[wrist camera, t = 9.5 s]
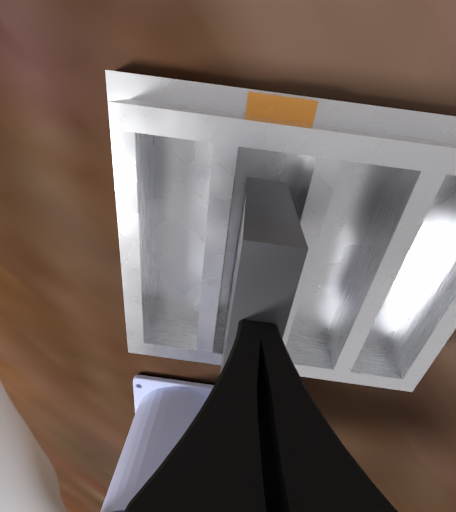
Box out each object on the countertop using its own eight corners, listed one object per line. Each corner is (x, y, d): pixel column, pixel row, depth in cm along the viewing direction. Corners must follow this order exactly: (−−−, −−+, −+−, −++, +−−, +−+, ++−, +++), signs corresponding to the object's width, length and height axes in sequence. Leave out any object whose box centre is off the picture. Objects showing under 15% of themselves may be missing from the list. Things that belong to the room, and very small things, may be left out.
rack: (399, 360, 22) (422, 404, 19) (131, 322, 22) (112, 360, 19) (538, 127, 14) (618, 139, 11) (114, 70, 14) (75, 67, 11)
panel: (257, 316, 20) (258, 420, 14) (227, 312, 20) (215, 414, 14) (286, 182, 15) (308, 248, 9) (247, 177, 15) (242, 240, 9)
